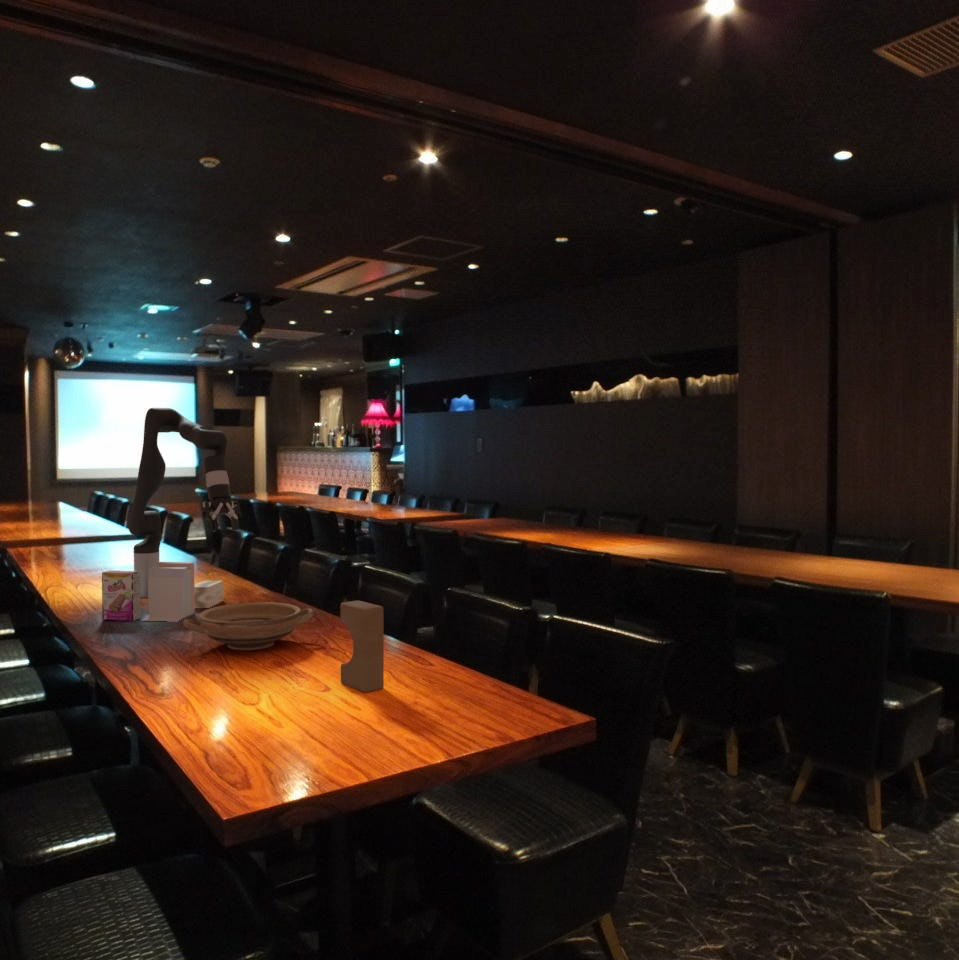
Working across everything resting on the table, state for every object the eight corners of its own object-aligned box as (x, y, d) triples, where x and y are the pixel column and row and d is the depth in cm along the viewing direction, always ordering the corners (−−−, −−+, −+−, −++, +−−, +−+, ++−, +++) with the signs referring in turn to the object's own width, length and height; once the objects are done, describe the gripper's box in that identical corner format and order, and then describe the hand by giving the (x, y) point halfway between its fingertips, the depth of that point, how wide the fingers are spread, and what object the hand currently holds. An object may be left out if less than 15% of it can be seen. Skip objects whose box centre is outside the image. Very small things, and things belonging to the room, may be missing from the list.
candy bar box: (101, 621, 262) (100, 572, 262) (109, 618, 267) (109, 570, 267) (133, 622, 261) (132, 572, 261) (141, 618, 266) (140, 570, 266)
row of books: (141, 621, 262) (141, 567, 261) (161, 612, 276) (160, 561, 275) (176, 622, 261) (176, 568, 260) (194, 613, 275) (194, 562, 274)
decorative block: (339, 683, 194) (339, 602, 193) (359, 678, 198) (359, 599, 197) (364, 693, 186) (364, 609, 185) (384, 688, 189) (384, 606, 189)
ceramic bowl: (189, 664, 210) (188, 627, 210) (178, 641, 236) (178, 608, 235) (325, 649, 226) (325, 615, 226) (301, 629, 252) (301, 598, 252)
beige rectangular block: (189, 609, 283) (188, 587, 283) (205, 601, 297) (204, 580, 297) (208, 609, 283) (207, 587, 283) (223, 601, 297) (222, 580, 297)
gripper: (228, 488, 282) (234, 532, 279) (193, 487, 270) (200, 534, 268) (241, 483, 278) (248, 527, 275) (207, 482, 266) (213, 529, 264)
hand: (224, 530), depth 272 cm, fingers open, 8 cm apart
